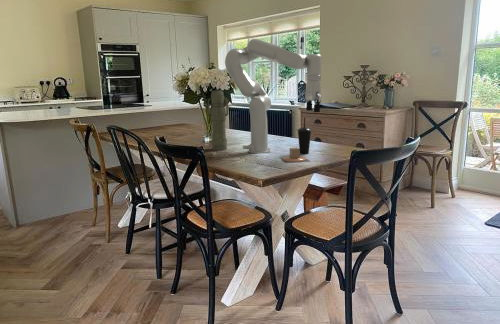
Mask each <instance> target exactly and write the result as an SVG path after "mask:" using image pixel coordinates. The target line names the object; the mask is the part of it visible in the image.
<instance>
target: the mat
mask: <svg viewBox="0 0 500 324" xmlns="http://www.w3.org/2000/svg"><path fill="white" fill-rule="evenodd" d="M283 157H284V156H283ZM283 157H279V160H281V161H282V162H284V163H285V164H293V163H294V164H297V163H299V162H287V161H284V160H283ZM309 162H312V161H311V160H309V159H308V158H306V161H303V162H302V163H309Z"/></svg>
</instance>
